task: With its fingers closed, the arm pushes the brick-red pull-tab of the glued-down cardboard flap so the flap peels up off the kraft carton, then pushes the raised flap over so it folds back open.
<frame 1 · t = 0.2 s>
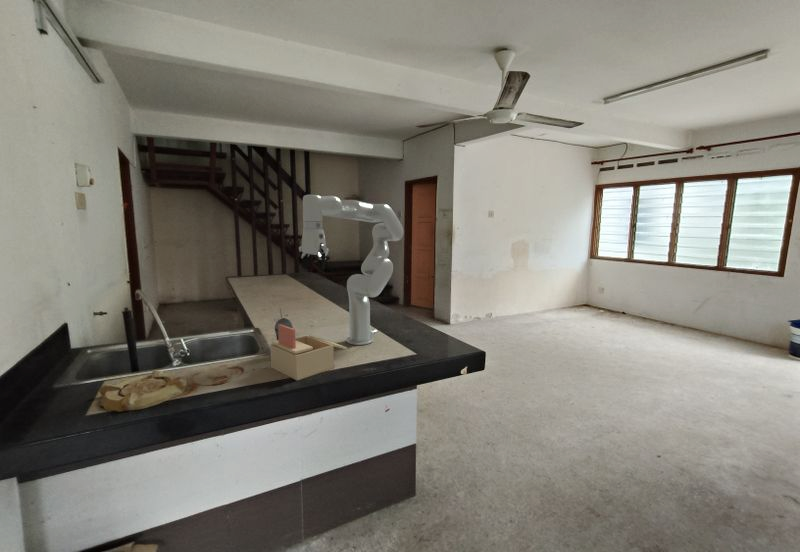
hand: (313, 268, 153), 36 cm above the worktop, tool pointing down, fingers open, 9 cm apart
flap: (291, 336, 138), point 13 cm above the worktop, hinge at 0.0°
carton: (302, 367, 143), on the worktop
tan brown flat piece: (145, 395, 121), on the worktop
grey vase with twigs: (284, 355, 158), on the worktop
rear flap: (327, 342, 151), point 7 cm above the worktop, hinge at 204.0°
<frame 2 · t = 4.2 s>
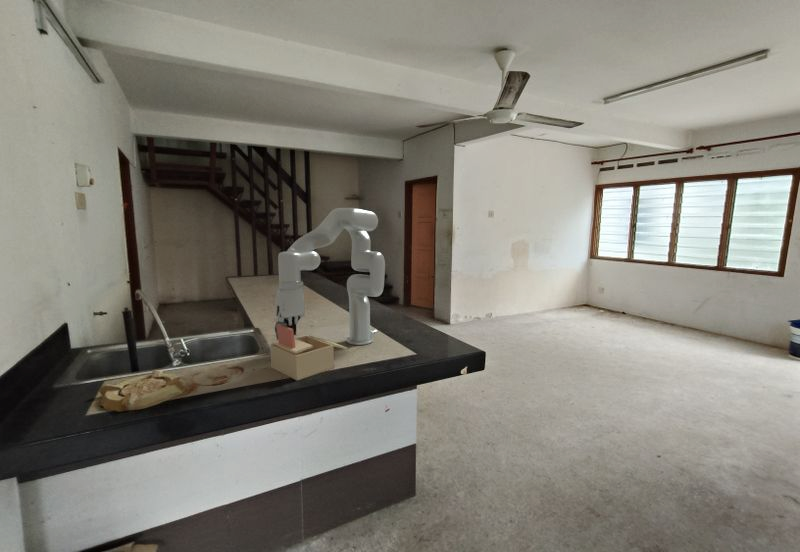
hand: (291, 334, 138), 14 cm above the worktop, tool pointing down, fingers closed
flap: (290, 335, 138), point 14 cm above the worktop, hinge at 5.2°, touching gripper
everything else where it was.
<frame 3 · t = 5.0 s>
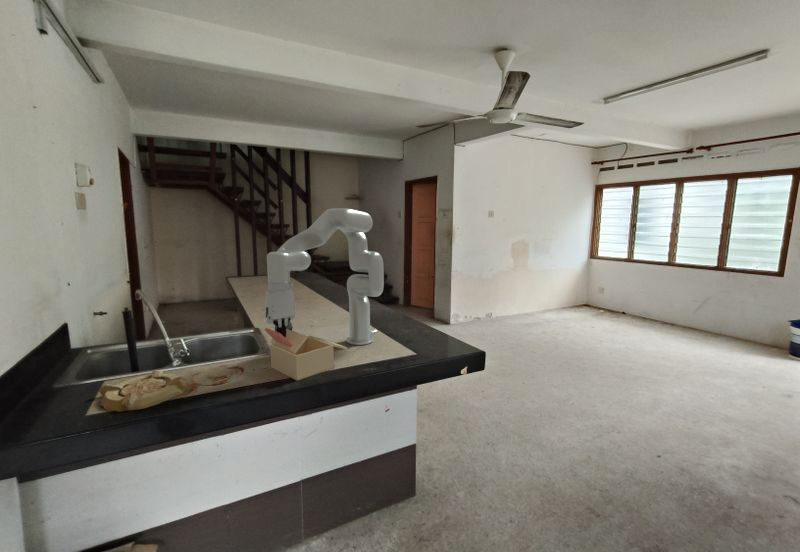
hand: (281, 336, 135), 14 cm above the worktop, tool pointing down, fingers closed
flap: (282, 333, 136), point 15 cm above the worktop, hinge at 40.5°, touching gripper
everything else where it was.
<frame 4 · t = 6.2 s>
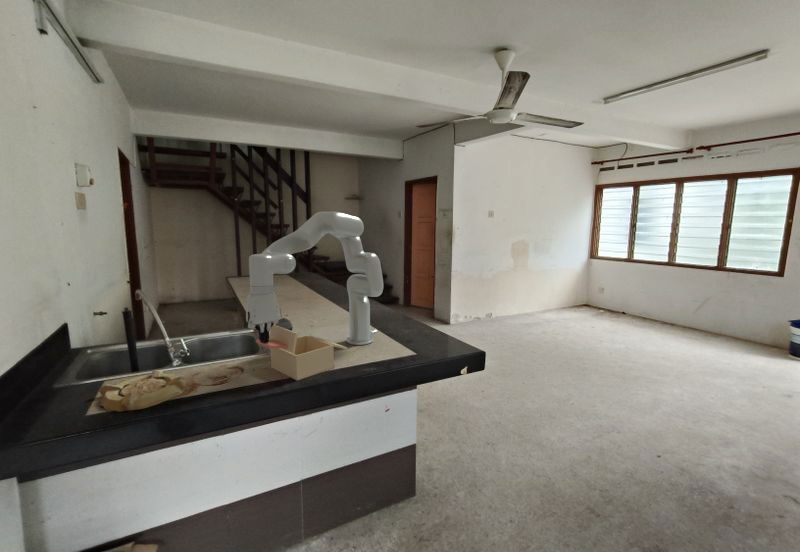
hand: (264, 342, 131), 14 cm above the worktop, tool pointing down, fingers closed
flap: (273, 338, 133), point 14 cm above the worktop, hinge at 77.7°, touching gripper
everything else where it was.
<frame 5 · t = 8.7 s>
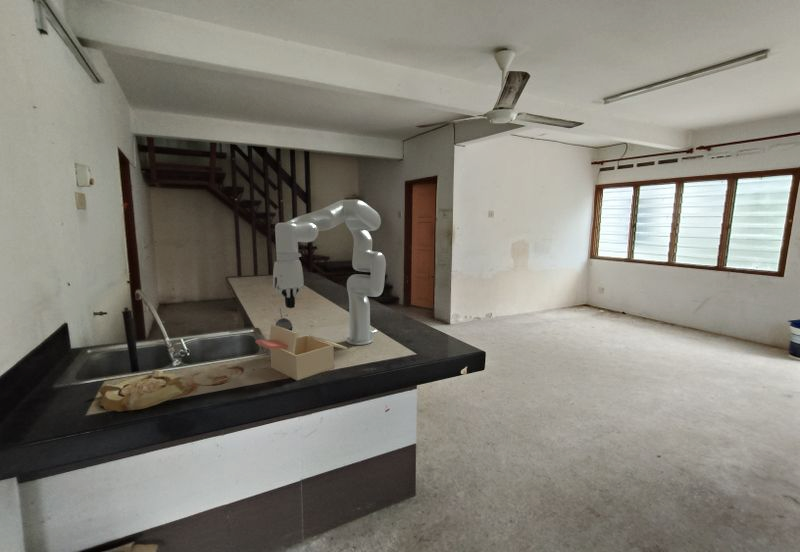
hand: (290, 307, 137), 24 cm above the worktop, tool pointing down, fingers closed
flap: (273, 338, 133), point 14 cm above the worktop, hinge at 78.6°
everything else where it was.
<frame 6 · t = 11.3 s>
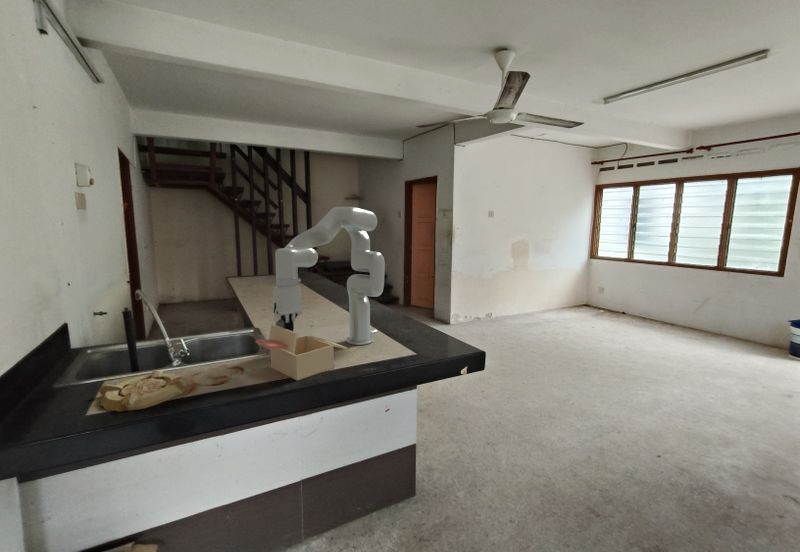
hand: (289, 332, 137), 15 cm above the worktop, tool pointing down, fingers closed
flap: (273, 338, 133), point 14 cm above the worktop, hinge at 78.8°, touching gripper
everything else where it was.
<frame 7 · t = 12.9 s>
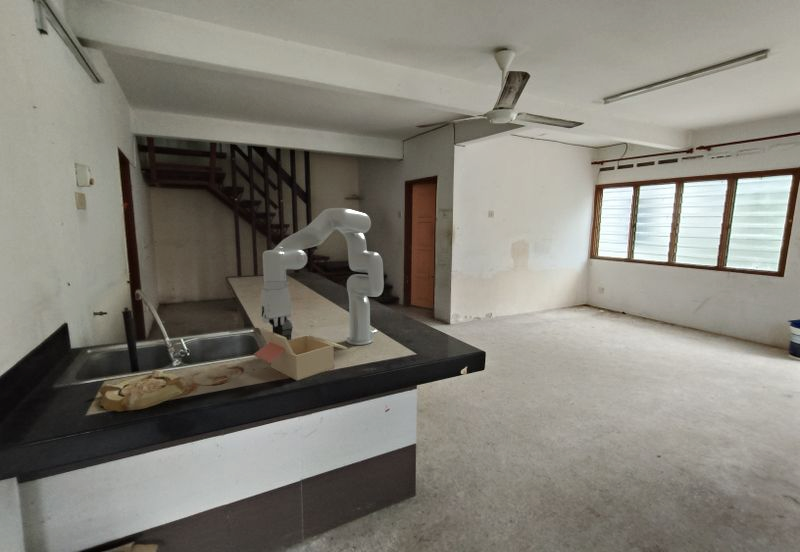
hand: (277, 335, 134), 15 cm above the worktop, tool pointing down, fingers closed
flap: (268, 347, 132), point 11 cm above the worktop, hinge at 113.5°, touching gripper
everything else where it was.
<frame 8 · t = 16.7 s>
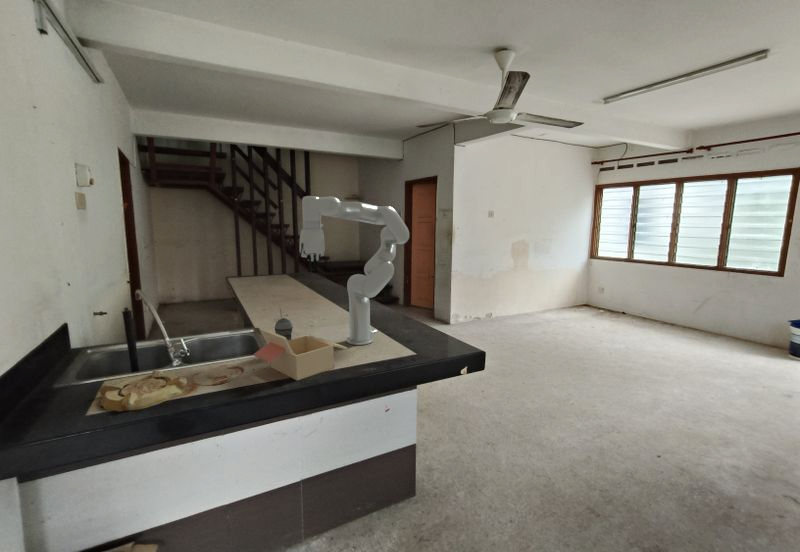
hand: (313, 270, 158), 35 cm above the worktop, tool pointing down, fingers closed
flap: (268, 347, 132), point 11 cm above the worktop, hinge at 113.6°
everything else where it was.
at the end: flap at +114° (first picture: +0°) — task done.
